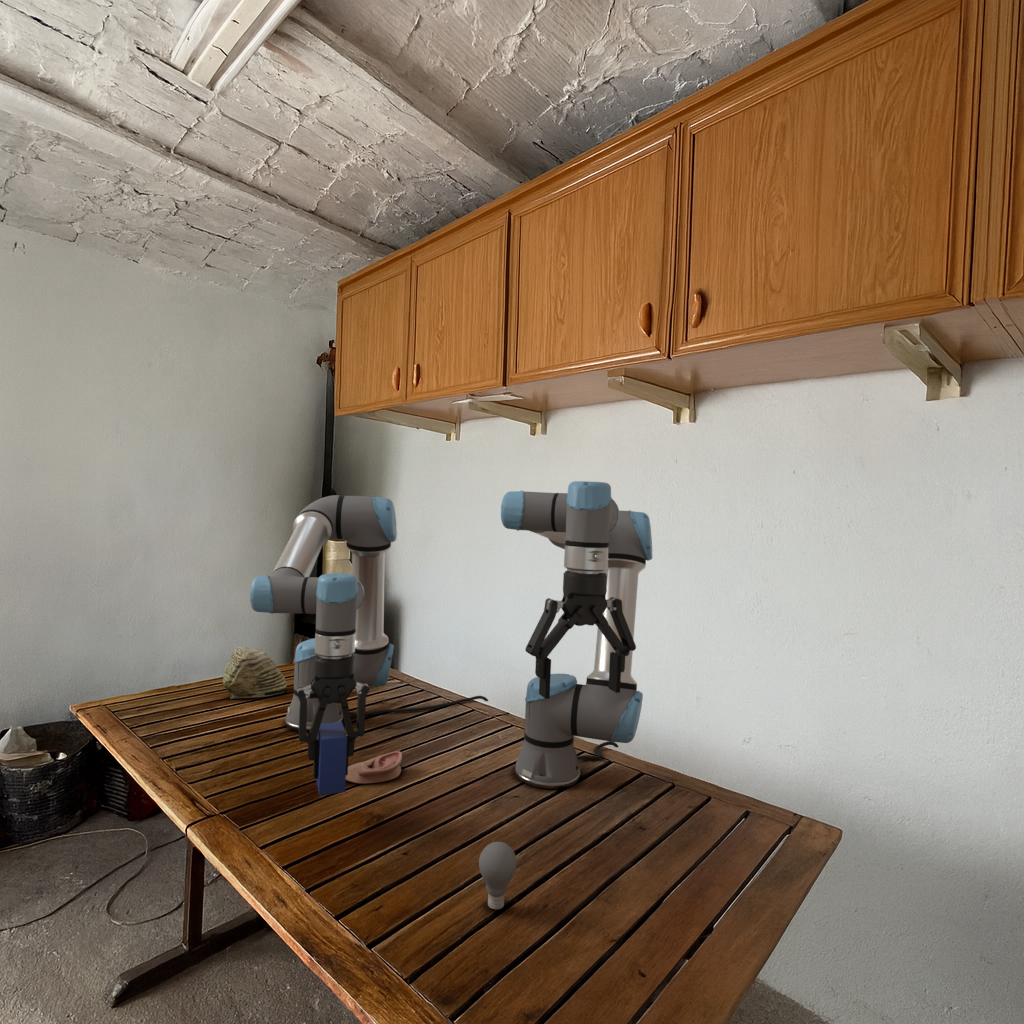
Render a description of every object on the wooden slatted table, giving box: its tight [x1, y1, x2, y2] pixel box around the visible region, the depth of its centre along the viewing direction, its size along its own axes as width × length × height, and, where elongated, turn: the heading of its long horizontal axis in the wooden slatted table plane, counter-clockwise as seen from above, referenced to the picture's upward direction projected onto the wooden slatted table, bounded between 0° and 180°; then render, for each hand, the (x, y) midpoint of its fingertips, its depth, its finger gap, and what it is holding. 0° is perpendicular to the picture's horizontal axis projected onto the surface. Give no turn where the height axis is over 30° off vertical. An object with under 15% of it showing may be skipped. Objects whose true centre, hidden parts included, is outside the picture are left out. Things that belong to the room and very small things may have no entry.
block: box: [315, 722, 347, 796], centre depth 122 cm, size 8×5×11 cm, turn 22°
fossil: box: [222, 646, 288, 699], centre depth 198 cm, size 9×18×15 cm, turn 132°
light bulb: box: [478, 841, 518, 910], centre depth 100 cm, size 6×6×10 cm
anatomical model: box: [346, 750, 403, 784], centre depth 146 cm, size 13×4×12 cm
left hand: (330, 773), depth 123 cm, fingers closed on block, 5 cm apart
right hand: (579, 693), depth 110 cm, fingers open, 13 cm apart
